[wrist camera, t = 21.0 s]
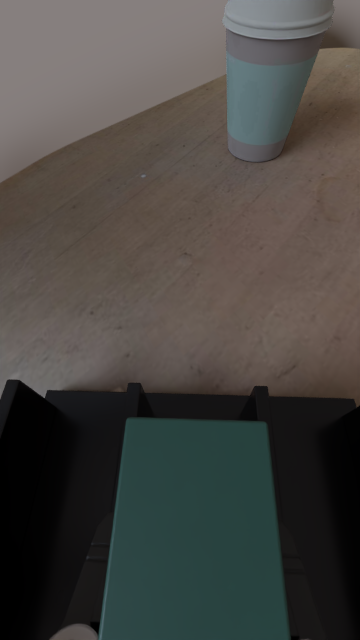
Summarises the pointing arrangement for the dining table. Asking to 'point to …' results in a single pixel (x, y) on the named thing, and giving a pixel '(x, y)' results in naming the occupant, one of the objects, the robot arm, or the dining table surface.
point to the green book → (195, 535)
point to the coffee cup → (269, 69)
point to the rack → (102, 482)
